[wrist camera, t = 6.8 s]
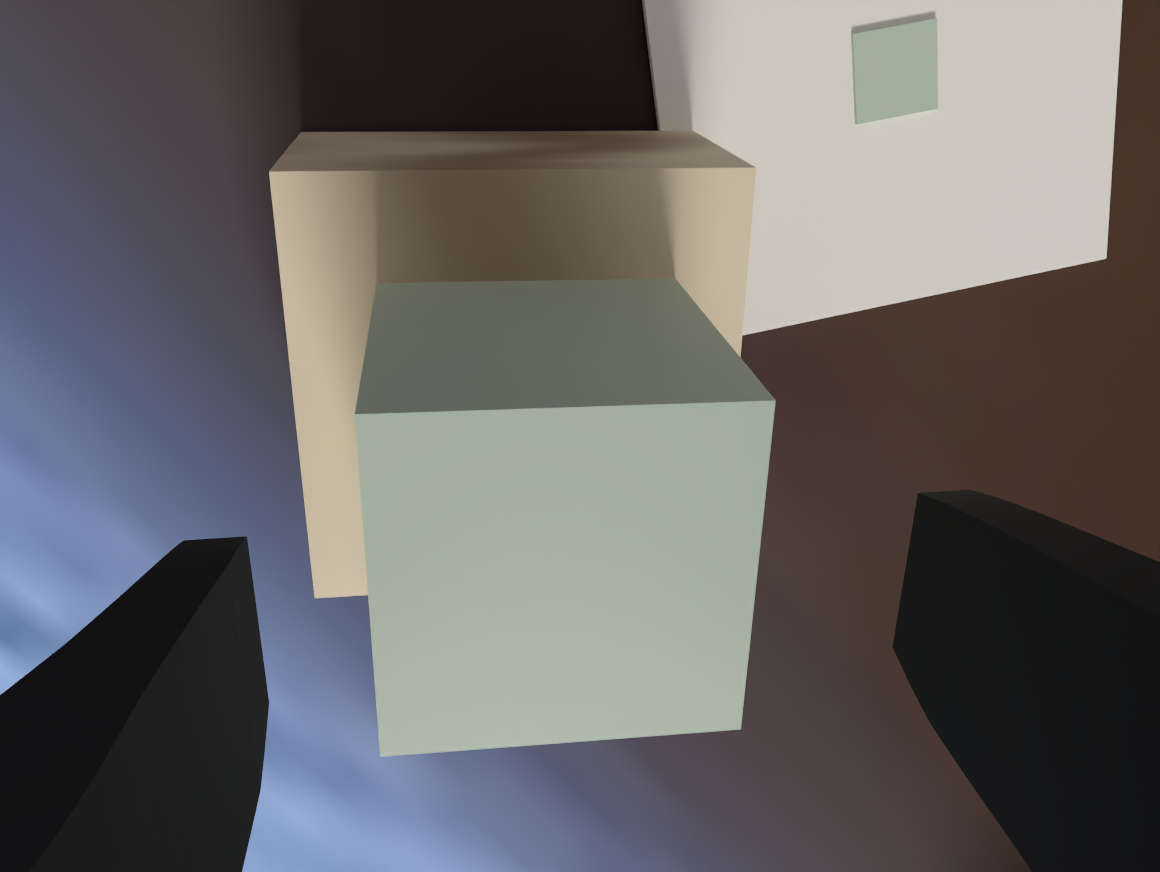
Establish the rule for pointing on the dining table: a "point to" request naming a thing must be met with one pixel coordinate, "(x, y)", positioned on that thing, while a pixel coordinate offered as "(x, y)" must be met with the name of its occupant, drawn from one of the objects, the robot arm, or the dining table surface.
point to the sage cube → (557, 512)
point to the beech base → (476, 257)
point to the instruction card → (898, 138)
